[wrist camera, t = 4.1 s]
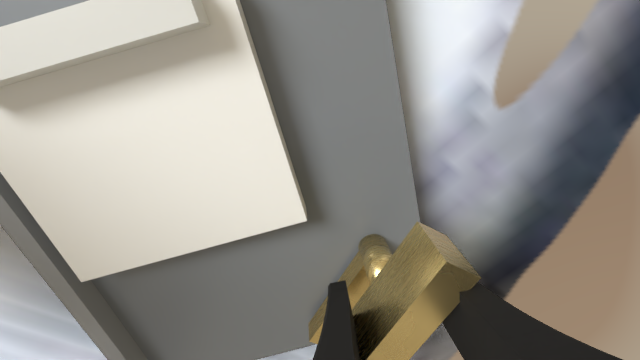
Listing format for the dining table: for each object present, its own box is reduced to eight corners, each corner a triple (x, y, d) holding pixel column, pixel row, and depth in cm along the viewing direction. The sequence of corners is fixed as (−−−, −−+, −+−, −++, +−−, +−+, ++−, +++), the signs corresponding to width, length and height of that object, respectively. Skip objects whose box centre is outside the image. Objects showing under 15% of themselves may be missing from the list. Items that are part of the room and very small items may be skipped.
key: (328, 327, 17) (342, 434, 12) (306, 319, 17) (311, 426, 12) (419, 202, 14) (481, 277, 10) (394, 190, 14) (446, 261, 9)
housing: (159, 356, 20) (136, 406, 17) (-104, -22, 11) (-231, -46, 9) (420, 288, 19) (442, 328, 16) (343, -161, 11) (361, -233, 8)
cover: (97, 264, 14) (60, 305, 12) (-41, 63, 11) (-131, 66, 8) (306, 207, 14) (308, 238, 12) (233, -19, 10) (216, -38, 8)
